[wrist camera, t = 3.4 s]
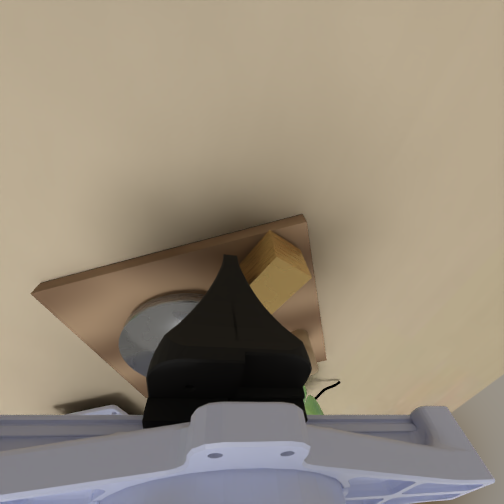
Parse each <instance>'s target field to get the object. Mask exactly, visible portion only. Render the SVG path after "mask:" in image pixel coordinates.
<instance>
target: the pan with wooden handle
mask: <svg viewBox="0 0 504 504" xmlns="http://www.w3.org/2000/svg"><path fill="white" fill-rule="evenodd" d="M239 266H240V268H241V270H242V272H243V274H244V276H245V278H246V280H247V282H248V284H249V285H250V287H251V289H252V290H253V292H254V293H255V295H256V296H257V298H258V299H259V300H260V302H261V303H262V304H263V306H264V307H265V308H266V309H267V310H268V311H269V313H270V314H271V315H272V314H273V313H274V312H275V311H276V310H277V309H278V308H279V307H280V306H282V305H283V304H284V303H285V302H286V301H287V300H288V299H289V298H290V297H291V296H292V295H293V294H295V293H296V292H297V291H298V290H299V289H300V288H301V287H302V286H303V285H304V284H305V283H307V282H308V281H309V280H310V279H311V278H312V276H311V274H310V272H309V269H308V267H307V264H306V262H305V260H304V257H303V255H302V253H301V250H300V249H299V248H297V247H296V246H294V245H293V244H291V243H289V242H288V241H286V240H285V239H283V238H282V237H280V236H278V235H277V234H275V233H274V232H272V231H271V230H269V231H268V232H267V233H266V234H265V236H264V237H263V238H262V239H261V240H260V241H259V242H258V244H257V245H256V246H255V247H254V248H253V249H252V251H251V252H250V253H249V254H248V255H247V256H246V258H245V259H244V260H243V261H242V262H241V263H240V264H239ZM203 297H204V294H195V293H179V294H171V295H166V296H161V297H158V298H155V299H152V300H150V301H148V302H146V303H144V304H143V305H141V306H139V307H138V308H137V309H136V310H134V311H133V312H132V313H131V315H130V316H129V317H128V319H127V321H126V323H125V325H124V327H123V330H122V332H121V334H120V338H119V351H120V354H121V356H122V358H123V359H124V361H125V362H126V363H127V364H128V365H129V366H130V367H131V368H132V369H133V370H135V371H136V372H138V373H139V374H141V375H143V376H145V377H147V372H148V368H149V365H150V361H151V359H152V357H153V354H154V352H155V350H156V348H157V347H158V345H159V343H160V341H161V340H162V338H163V337H164V335H165V334H166V333H167V332H169V331H170V330H171V329H172V328H174V327H175V326H176V325H177V324H178V323H180V322H181V321H182V320H183V319H184V318H185V317H186V316H187V315H188V314H189V313H190V312H191V311H192V310H193V309H194V308H195V306H196V305H197V304H198V303H199V302H200V301H201V299H202V298H203Z"/></svg>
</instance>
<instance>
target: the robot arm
mask: <svg viewBox="0 0 504 504" xmlns="http://www.w3.org/2000/svg"><path fill="white" fill-rule="evenodd" d="M311 371H312V366H311V362H310V358H309V356H308V353H307V351H306V348H305V346H304V344H303V342H302V341H301V340H300V339H299V338H297V337H296V336H295V335H293V334H292V333H291V332H290V331H288V330H287V329H286V328H285V327H284V326H283V325H281V324H280V323H279V322H278V321H277V320H276V319H275V318H274V317H273V316H272V315H271V314H270V313H269V311H268V310H267V309H266V308H265V307H264V306H263V304H262V303H261V302H260V300H259V299H258V298H257V296H256V295H255V293H254V292H253V290H252V289H251V287H250V285H249V284H248V282H247V280H246V278H245V276H244V274H243V272H242V270H241V268H240V266H239V263H238V258H237V256H235V255H226V254H224V255H223V262H222V265H221V268H220V270H219V272H218V274H217V276H216V278H215V280H214V282H213V283H212V285H211V287H210V288H209V290H208V291H207V293H206V294H205V295H204V297H203V298H202V299H201V301H200V302H199V303H198V304H197V305H196V306H195V308H194V309H193V310H192V311H191V312H190V313H189V314H188V315H187V316H186V317H185V318H184V319H183V320H182V321H181V322H180V323H178V324H177V325H176V326H175V327H174V328H172V329H171V330H170V331H169V332H167V333H166V334H165V335H164V337H163V338H162V340H161V341H160V343H159V345H158V347H157V348H156V350H155V352H154V354H153V357H152V359H151V361H150V365H149V368H148V372H147V377H146V382H147V391H148V399H147V403H146V407H145V411H144V415H128V414H127V413H126V412H124V411H123V410H122V409H120V408H119V407H118V406H116V405H108V406H103V407H98V408H93V409H89V410H84V411H79V412H74V413H70V414H65V415H0V504H410V503H419V502H429V501H441V500H452V499H454V498H457V497H459V496H462V495H464V494H467V493H469V492H472V491H474V490H477V489H480V488H482V487H485V486H487V485H490V484H492V483H494V482H495V479H494V477H493V476H492V474H491V473H490V472H489V470H488V468H487V467H486V465H485V464H484V462H483V461H482V459H481V458H480V456H479V455H478V453H477V452H476V450H475V449H474V448H473V446H472V444H471V443H470V441H469V440H468V438H467V437H466V435H465V434H464V432H463V431H462V429H461V428H460V426H459V425H458V423H457V422H456V420H455V419H454V417H453V416H452V414H451V412H450V411H449V409H448V408H447V407H446V406H421V407H418V408H416V409H415V410H413V411H412V412H411V414H410V415H307V414H306V410H305V406H304V401H303V399H304V398H305V393H304V389H303V386H304V384H305V382H306V381H307V379H308V377H309V376H310V374H311Z"/></svg>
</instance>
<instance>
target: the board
mask: <svg viewBox="0 0 504 504" xmlns="http://www.w3.org/2000/svg"><path fill="white" fill-rule="evenodd" d="M269 230H271V231H272V232H274V233H275V234H277V235H278V236H280V237H282V238H283V239H285V240H286V241H288V242H289V243H291V244H293V245H294V246H296V247H297V248H299V249H300V250H301V253H302V255H303V257H304V260H305V262H306V264H307V267H308V269H309V272H310V274H311V276H312V278H311V279H310V280H309V281H308V282H307V283H305V284H304V285H303V286H302V287H301V288H300V289H299V290H298V291H297V292H296V293H295V294H293V295H292V296H291V297H290V298H289V299H288V300H287V301H286V302H285V303H284V304H283V305H282V306H280V307H279V308H278V309H277V310H276V311H275V312H274V313H273V314H272V316H273V317H274V318H275V319H276V320H277V321H278V322H279V323H280V324H281V325H283V326H284V327H285V328H286V329H287V330H288V331H290V332H291V333H292V334H293V335H295V336H296V337H297V338H299V339H300V340H301V341H302V342H303V344H304V346H305V348H306V351H307V353H308V356H309V358H310V362H311V366H312V371H311V374H310V376H311V375H313V374H315V373H317V371H318V365H317V362H320V361H325V360H326V353H325V346H324V339H323V332H322V325H321V318H320V311H319V304H318V297H317V290H316V283H315V276H314V270H313V263H312V256H311V249H310V242H309V235H308V228H307V222H306V220H305V218H304V216H303V214H301V215H297V216H294V217H290V218H286V219H282V220H278V221H275V222H271V223H267V224H263V225H259V226H256V227H252V228H248V229H244V230H240V231H237V232H233V233H229V234H225V235H221V236H218V237H214V238H210V239H206V240H202V241H199V242H195V243H191V244H187V245H183V246H180V247H176V248H172V249H168V250H164V251H161V252H157V253H153V254H149V255H145V256H142V257H138V258H134V259H130V260H126V261H123V262H119V263H115V264H111V265H108V266H104V267H100V268H96V269H92V270H89V271H85V272H81V273H77V274H73V275H70V276H66V277H62V278H58V279H54V280H51V281H47V282H43V283H40V284H39V285H38V286H37V287H36V288H35V289H34V290H33V292H32V293H31V295H33V296H34V297H35V298H36V299H37V300H38V301H39V302H40V303H41V304H43V305H44V306H45V307H46V308H47V309H48V310H49V311H50V312H51V313H53V314H54V315H55V316H56V317H57V318H58V319H59V320H60V321H61V322H62V323H64V324H65V325H66V326H67V327H68V328H69V329H70V330H71V331H72V332H74V333H75V334H76V335H77V336H78V337H79V338H80V339H81V340H82V341H84V342H85V343H86V344H87V345H88V346H89V347H90V348H91V349H92V350H94V351H95V352H96V353H97V354H98V355H99V356H100V357H101V358H102V359H104V360H105V361H106V362H107V363H108V364H109V365H110V366H111V367H112V368H113V369H115V370H116V371H117V372H118V373H119V374H120V375H121V376H122V377H123V378H125V379H126V380H127V381H128V382H129V383H130V384H131V385H132V386H133V387H135V388H136V389H137V390H138V391H139V392H140V393H141V394H142V395H143V396H145V397H146V398H148V391H147V382H146V377H145V376H143V375H141V374H139V373H138V372H136V371H135V370H133V369H132V368H131V367H130V366H129V365H128V364H127V363H126V362H125V361H124V359H123V358H122V356H121V354H120V351H119V338H120V334H121V332H122V330H123V327H124V325H125V323H126V321H127V319H128V317H129V316H130V315H131V313H132V312H133V311H134V310H136V309H137V308H138V307H139V306H141V305H143V304H144V303H146V302H148V301H150V300H152V299H155V298H158V297H161V296H166V295H171V294H179V293H195V294H204V295H205V294H206V293H207V291H208V290H209V288H210V287H211V285H212V283H213V282H214V280H215V278H216V276H217V274H218V272H219V270H220V268H221V265H222V262H223V255H224V254H226V255H235V256H237V258H238V263H239V264H240V263H241V262H242V261H243V260H244V259H245V258H246V256H247V255H248V254H249V253H250V252H251V251H252V249H253V248H254V247H255V246H256V245H257V244H258V242H259V241H260V240H261V239H262V238H263V237H264V236H265V234H266V233H267V232H268V231H269Z"/></svg>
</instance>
